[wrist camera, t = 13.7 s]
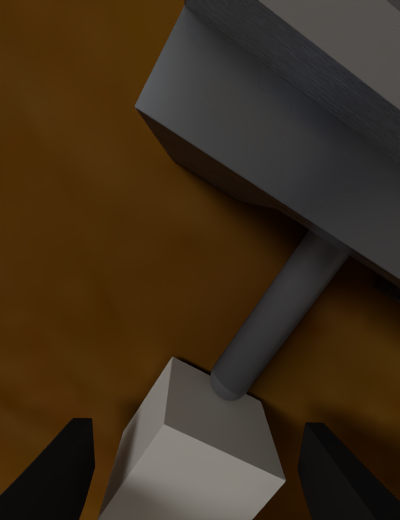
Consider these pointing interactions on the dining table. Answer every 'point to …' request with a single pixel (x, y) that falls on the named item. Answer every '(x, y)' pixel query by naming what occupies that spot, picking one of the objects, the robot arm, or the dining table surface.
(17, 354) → the dining table surface
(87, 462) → the robot arm
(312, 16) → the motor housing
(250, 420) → the white ended gray rod
